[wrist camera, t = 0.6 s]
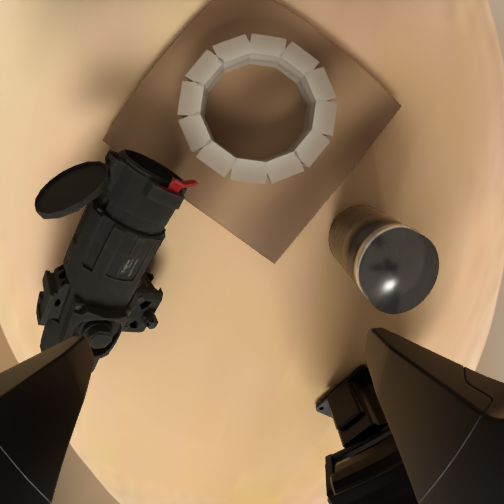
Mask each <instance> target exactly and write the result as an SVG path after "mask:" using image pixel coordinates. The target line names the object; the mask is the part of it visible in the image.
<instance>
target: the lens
mask: <svg viewBox="0 0 504 504" xmlns="http://www.w3.org/2000/svg"><path fill="white" fill-rule="evenodd" d="M329 246H330V250H331V252H332V254H333V256H334V257H335V258H336V259H337V261H338V262H339V263H340V264H341V265H342V267H343V268H344V269H345V270H346V272H347V273H348V274H349V275H350V276H351V278H352V279H353V280H354V281H355V283H356V284H357V286H358V287H359V289H360V290H361V292H362V293H363V294H364V295H365V297H366V298H368V299H369V300H370V302H371V303H372V304H373V305H374V306H375V307H376V308H377V309H378V310H380V311H382V312H385V313H389V314H398V313H403V312H406V311H408V310H411V309H412V308H414V307H416V306H417V305H418V304H420V303H421V302H422V301H423V300H424V299H425V298H426V297H427V295H428V294H429V293H430V291H431V290H432V288H433V286H434V284H435V281H436V279H437V275H438V270H439V258H438V254H437V251H436V248H435V246H434V245H433V243H432V242H431V241H430V240H429V239H428V238H426V237H425V236H423V235H421V234H420V233H419V232H417V231H416V230H414V229H412V228H411V227H409V226H406V225H403V224H402V223H400V222H398V221H396V220H394V219H392V218H390V217H389V216H387V215H385V214H383V213H381V212H379V211H377V210H375V209H373V208H371V207H369V206H364V205H358V206H353V207H350V208H348V209H346V210H344V211H343V212H342V213H340V214H339V215H338V216H337V218H336V219H335V220H334V222H333V224H332V226H331V229H330V232H329Z"/></svg>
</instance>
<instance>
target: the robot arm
mask: <svg viewBox="0 0 504 504" xmlns="http://www.w3.org/2000/svg"><path fill="white" fill-rule="evenodd" d="M365 358H366V361H367V364H368V366H367V365H361V366H360V367H358V368H357V369H356V370H355V371H354V372H353V373H352V374H351V375H350V376H349V377H348V378H346V379H345V380H344V381H343V382H342V383H341V384H340V385H339V386H338V387H336V388H335V389H334V390H333V391H332V392H331V393H330V394H328V395H327V396H326V397H325V398H324V399H323V400H321V401H320V402H319V403H318V404H317V405H316V410H317V411H318V412H320V413H322V414H325V415H327V416H329V417H332V418H333V420H334V423H335V426H336V429H337V430H338V433H339V436H340V439H341V442H342V445H343V447H345V448H344V449H342V450H340V451H338V452H336V453H334V454H330V455H328V456H326V457H325V458H326V464H325V469H326V489H327V496H328V502H329V504H504V383H502V382H499V381H497V380H494V379H491V378H489V377H486V376H484V375H482V374H479V373H477V372H475V371H473V370H471V369H469V368H467V367H463V366H462V365H460V364H458V363H456V362H454V361H451V360H449V359H447V358H445V357H443V356H441V355H439V354H437V353H434V352H432V351H430V350H428V349H426V348H424V347H422V346H420V345H418V344H415V343H413V342H411V341H409V340H407V339H405V338H403V337H401V336H399V335H397V334H395V333H392V332H390V331H388V330H386V329H384V328H373V329H370V330H369V332H368V337H367V342H366V348H365ZM93 365H94V356H93V353H92V350H91V347H90V343H89V340H88V338H87V337H85V336H77V335H76V336H73V337H71V338H69V339H67V340H65V341H63V342H61V343H59V344H57V345H55V346H53V347H51V348H49V349H47V350H45V351H43V352H41V353H39V354H37V355H35V356H33V357H31V358H29V359H27V360H25V361H23V362H21V363H19V364H17V365H16V366H14V367H12V368H9V369H8V370H6V371H4V372H2V373H0V504H51V503H52V499H53V496H54V492H55V488H56V485H57V481H58V477H59V474H60V470H61V467H62V464H63V461H64V457H65V454H66V451H67V448H68V445H69V442H70V439H71V436H72V433H73V430H74V427H75V424H76V421H77V419H78V416H79V413H80V410H81V408H82V405H83V402H84V399H85V395H86V392H87V388H88V384H89V380H90V376H91V373H92V369H93ZM362 370H363V371H362Z"/></svg>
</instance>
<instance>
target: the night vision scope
mask: <svg viewBox="0 0 504 504" xmlns="http://www.w3.org/2000/svg"><path fill="white" fill-rule="evenodd" d="M197 184H198V182H197V181H195V180H194V179H193V180H185V181H184V180H183V179H181V178H180V177H179V176H178V175H177V174H175V173H174V172H173V171H171V170H170V169H168V168H167V167H165V166H163V165H162V164H160V163H158V162H157V161H155V160H153V159H151V158H149V157H147V156H145V155H143V154H140V153H138V152H135V151H133V150H128V149H124V150H122V151H120V152H119V153H117V152H114V151H112V150H109V151H108V153H107V155H106V157H105V164H103V163H101V162H99V161H97V162H86V163H82V164H79V165H75V166H73V167H71V168H69V169H67V170H65V171H63V172H61V173H60V174H58V175H57V176H56V177H54V178H53V179H51V180H50V181H49V182H48V183H47V184H46V185H45V186H44V187H43V188H42V189H41V190H40V192H39V194H38V195H37V197H36V199H35V208H36V211H37V213H38V214H39V215H40V216H41V217H42V218H43V219H53V218H61V217H63V216H66V215H68V214H71V213H73V212H76V211H78V210H79V209H81V208H82V207H84V206H85V205H86V204H87V206H86V209H85V211H84V213H83V215H82V217H81V220H80V222H79V224H78V227H77V229H76V231H75V234H74V236H73V238H72V241H71V243H70V246H69V248H68V251H67V253H66V256H65V259H64V261H63V262H64V264H63V265H61V266H59V267H58V268H56V269H55V271H54V273H50V271H47V270H46V271H45V274H44V277H43V288H44V291H41V292H40V293H39V298H38V303H37V310H36V314H37V320H38V325H45V327H44V330H43V334H42V338H41V344H40V348H41V352H43V351H45V350H47V349H49V348H51V347H53V346H55V345H57V344H59V343H61V342H63V341H65V340H67V339H69V338H71V337H73V336H76V335H77V336H85V337H87V338H88V340H89V343H90V347H91V350H92V353H93V356H94V365H93V369H92V372H93V371H94V369H95V367H96V364H97V362H98V360H99V358H102V357H104V356H107V355H108V354H109V352H110V351H111V349H112V348H113V347H114V345H115V344H116V342H117V340H118V338H119V336H120V334H121V332H122V331H125V332H143V331H144V330H145V328H146V327H148V328H149V329H153V328H155V327H156V325H157V324H158V321H157V318H156V316H155V314H154V313H155V311H156V309H157V308H158V306H159V304H160V302H161V301H162V296H163V292H162V290H161V288H160V289H159V291H158V290H157V289H155V288H154V286H153V285H152V283H151V281H152V280H153V278H154V276H153V274H150V273H145V271H146V270H147V268H148V266H149V264H150V262H151V261H152V259H153V257H154V255H155V254H156V252H157V250H158V248H159V247H160V245H161V243H162V241H163V240H164V238H165V231H166V229H165V228H164V227H165V226H166V224H167V223H168V221H169V219H170V218H171V216H172V214H173V213H174V211H175V209H179V207H180V205H181V203H182V201H183V200H184V198H185V196H184V194H185V193H186V191H187V187H191V186H195V185H197Z"/></svg>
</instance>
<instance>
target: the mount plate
mask: <svg viewBox="0 0 504 504" xmlns="http://www.w3.org/2000/svg"><path fill="white" fill-rule="evenodd" d="M400 107H401V105H400V104H399V103H398V102H397V101H396V100H395V99H394V98H393V97H392V96H391V95H390V94H389V93H388V92H387V91H386V90H385V89H384V88H383V87H382V86H381V85H380V84H379V83H378V82H377V81H376V80H375V79H374V78H373V77H372V76H371V75H370V74H369V73H368V72H367V71H365V70H364V69H363V68H362V67H361V66H360V65H359V64H358V63H356V62H355V61H354V60H353V59H352V58H351V57H350V56H348V55H347V54H346V53H345V52H344V51H342V50H341V49H340V48H339V47H338V46H336V45H335V44H334V43H333V42H331V41H330V40H329V39H328V38H326V37H325V36H324V35H322V34H321V33H320V32H318V31H317V30H316V29H314V28H313V27H312V26H310V25H309V24H308V23H306V22H305V21H303V20H302V19H301V18H299V17H298V16H296V15H295V14H293V13H292V12H290V11H289V10H287V9H286V8H284V7H283V6H281V5H280V4H278V3H277V2H275V1H274V0H213V1H212V2H211V3H210V4H209V5H208V6H207V7H206V8H205V9H204V10H203V11H202V12H201V13H200V14H199V15H198V16H197V17H196V18H195V19H194V21H193V22H192V23H191V24H190V25H189V26H188V27H187V28H186V29H185V30H184V31H183V32H182V34H181V35H180V36H179V37H178V38H177V39H176V40H175V41H174V43H173V44H172V45H171V46H170V47H169V48H168V50H167V51H166V52H165V53H164V54H163V56H162V57H161V58H160V59H159V61H158V62H157V63H156V64H155V66H154V67H153V68H152V69H151V71H150V72H149V73H148V75H147V76H146V77H145V78H144V80H143V81H142V82H141V84H140V85H139V87H138V88H137V89H136V91H135V92H134V93H133V95H132V96H131V98H130V99H129V100H128V102H127V103H126V105H125V106H124V108H123V109H122V111H121V112H120V114H119V115H118V117H117V118H116V120H115V121H114V123H113V124H112V126H111V127H110V129H109V130H108V132H107V134H106V135H105V137H104V139H103V141H104V142H105V143H107V144H108V145H110V146H111V147H112V148H114V149H115V150H117V151H118V152H120V151H122V150H124V149H128V150H133V151H135V152H138V153H140V154H143V155H145V156H147V157H149V158H151V159H153V160H155V161H157V162H158V163H160V164H162V165H163V166H165V167H167V168H168V169H170V170H171V171H173V172H174V173H175V174H177V175H178V176H179V177H180V178H181V179H183V180H184V181H185V180H193V179H194V180H195V181H197V182H198V184H197V185H195V186H191V187H187V191H186V193H185V194H184V196H185V198H184V199H185V200H186V201H188V202H189V203H191V204H192V205H193V206H195V207H196V208H198V209H199V210H200V211H202V212H203V213H205V214H206V215H207V216H209V217H210V218H212V219H213V220H214V221H216V222H217V223H218V224H220V225H221V226H223V227H224V228H225V229H227V230H228V231H230V232H231V233H232V234H234V235H235V236H237V237H238V238H239V239H241V240H242V241H243V242H245V243H246V244H248V245H249V246H250V247H252V248H253V249H255V250H256V251H257V252H259V253H260V254H262V255H263V256H264V257H266V258H267V259H268V260H270V261H271V262H273V263H274V264H275V262H276V261H277V260H278V259H279V258H280V256H281V255H282V254H283V253H284V252H285V250H286V249H287V248H288V247H289V246H290V244H291V243H292V242H293V241H294V240H295V238H296V237H297V236H298V235H299V234H300V232H301V231H302V230H303V229H304V227H305V226H306V225H307V224H308V223H309V221H310V220H311V219H312V218H313V217H314V215H315V214H316V213H317V212H318V210H319V209H320V208H321V207H322V206H323V204H324V203H325V202H326V201H327V199H328V198H329V197H330V196H331V194H332V193H333V192H334V191H335V190H336V188H337V187H338V186H339V185H340V183H341V182H342V181H343V180H344V178H345V177H346V176H347V175H348V173H349V172H350V171H351V170H352V168H353V167H354V166H355V165H356V163H357V162H358V161H359V160H360V158H361V157H362V156H363V155H364V153H365V152H366V151H367V150H368V148H369V147H370V146H371V144H372V143H373V142H374V141H375V139H376V138H377V137H378V136H379V134H380V133H381V132H382V130H383V129H384V128H385V127H386V125H387V124H388V123H389V121H390V120H391V119H392V118H393V116H394V115H395V114H396V112H397V111H398V110H399V109H400Z"/></svg>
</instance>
